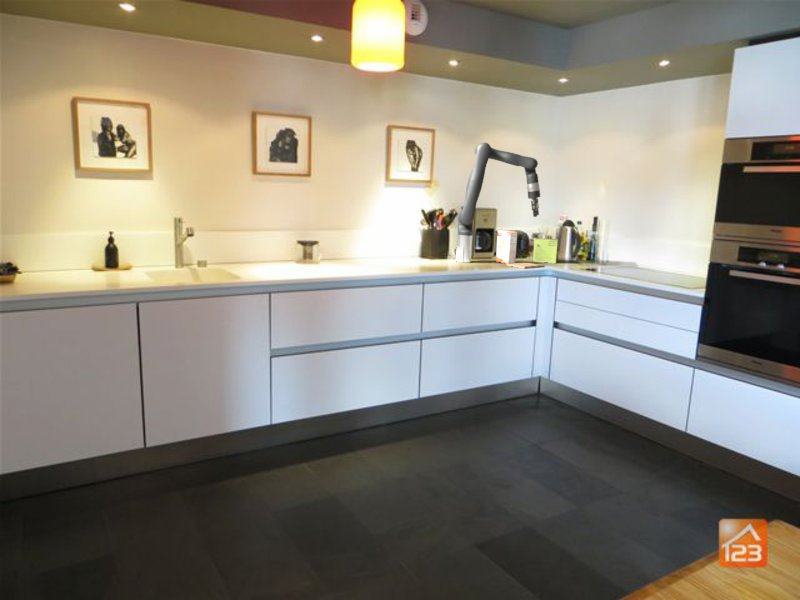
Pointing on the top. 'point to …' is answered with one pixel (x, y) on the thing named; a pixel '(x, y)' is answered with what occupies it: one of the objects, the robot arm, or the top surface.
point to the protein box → (545, 250)
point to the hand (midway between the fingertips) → (536, 215)
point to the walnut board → (525, 265)
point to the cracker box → (506, 246)
